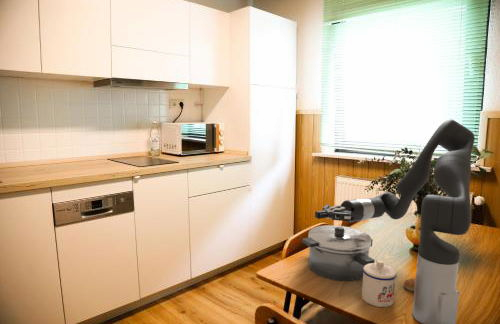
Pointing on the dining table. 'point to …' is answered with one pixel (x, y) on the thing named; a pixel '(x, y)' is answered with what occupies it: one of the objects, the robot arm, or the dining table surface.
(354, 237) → the cooker lid
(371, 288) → the teacup with lid
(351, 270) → the cooker pot
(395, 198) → the robot arm
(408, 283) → the pastry
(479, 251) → the dining table surface
